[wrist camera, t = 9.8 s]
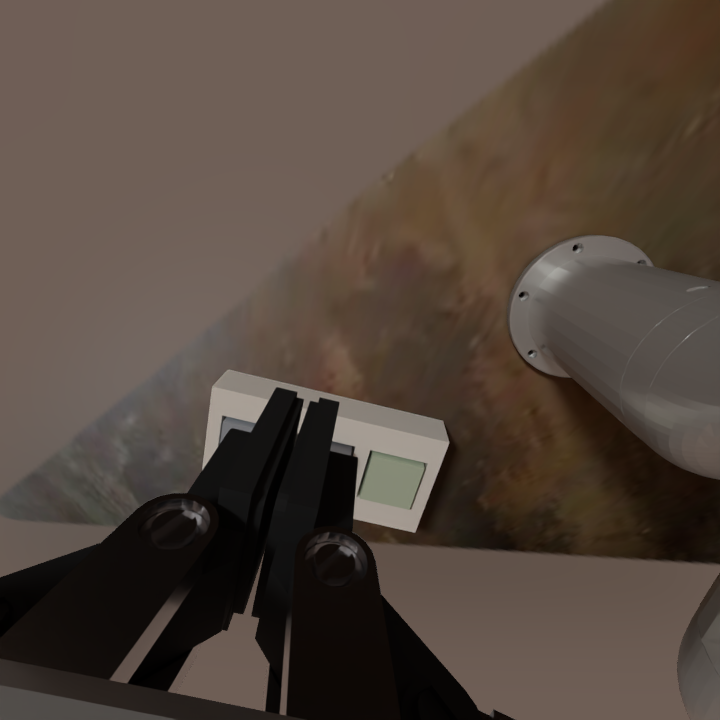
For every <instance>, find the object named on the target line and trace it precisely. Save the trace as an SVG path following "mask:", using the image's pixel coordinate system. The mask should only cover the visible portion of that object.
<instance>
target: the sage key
mask: <svg viewBox="0 0 720 720" xmlns="http://www.w3.org/2000/svg"><path fill="white" fill-rule="evenodd" d="M424 469H425V468H424V463H423V462H419V461H415V460H411V459H406V458H402V457H398V456H393V455H389V454H385V453H381V452H376V451H372V450H370V453H369V456H368V459H367V463H366V466H365V469H364V473H363V476H362V479H361V486H360V499H364V500H368V501H372V502H377V503H381V504H386V505H390V506H394V507H399V508H403V509H408V510H410V507H411V504H412V502H413V499H414V496H415V493H416V491H417V488H418V485H419V482H420V480H421V477H422V474H423V472H424Z"/></svg>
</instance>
